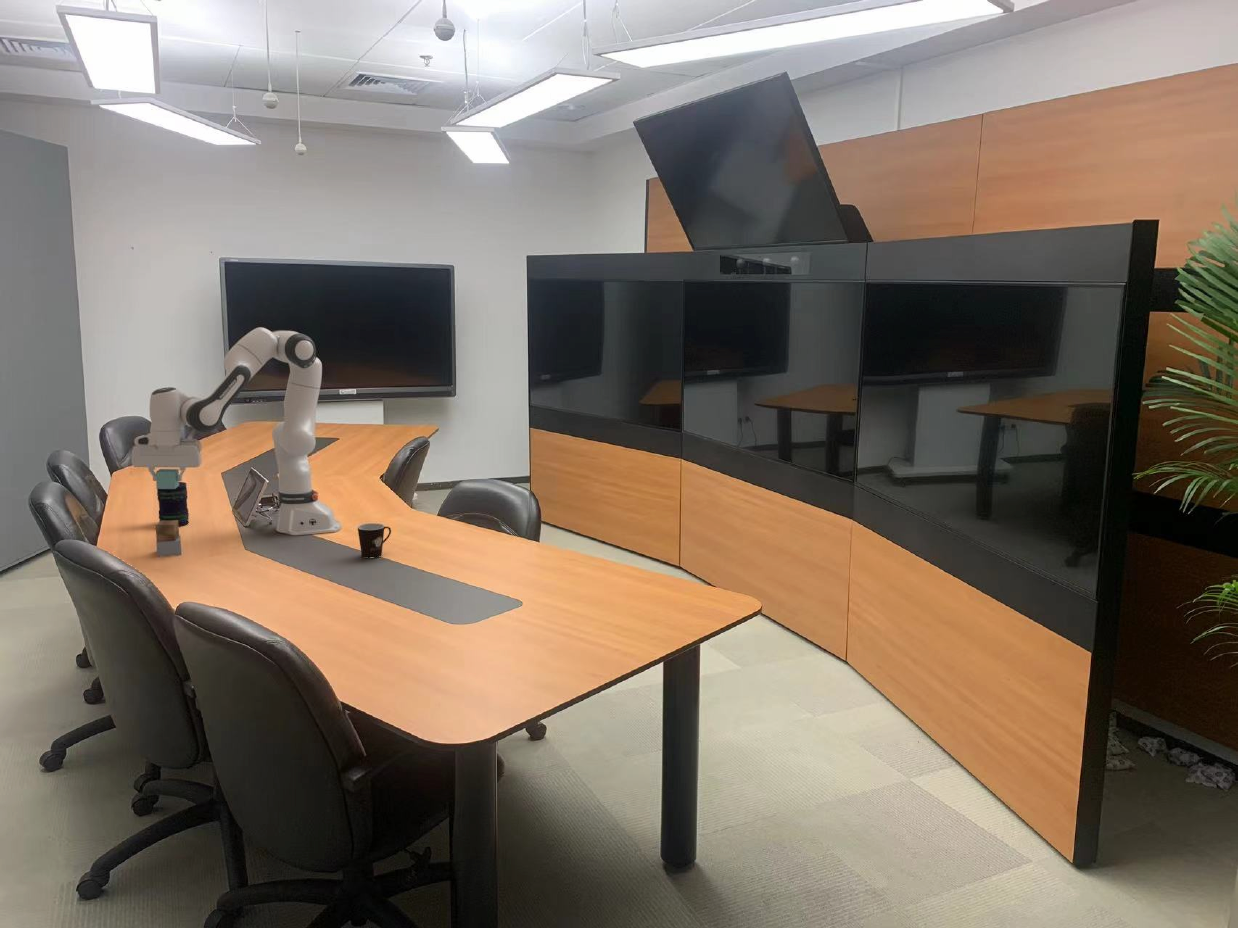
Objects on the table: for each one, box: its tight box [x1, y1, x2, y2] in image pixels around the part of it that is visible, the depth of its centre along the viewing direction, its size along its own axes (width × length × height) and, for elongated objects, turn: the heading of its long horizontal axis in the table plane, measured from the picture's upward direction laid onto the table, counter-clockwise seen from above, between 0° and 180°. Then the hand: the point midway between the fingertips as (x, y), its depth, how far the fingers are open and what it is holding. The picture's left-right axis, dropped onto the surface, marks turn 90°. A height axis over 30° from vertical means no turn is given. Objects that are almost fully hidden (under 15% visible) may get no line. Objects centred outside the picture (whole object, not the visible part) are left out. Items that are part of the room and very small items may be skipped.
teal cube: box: [155, 468, 180, 490], centre depth 291 cm, size 6×6×6 cm
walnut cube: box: [155, 520, 180, 542], centre depth 294 cm, size 6×6×6 cm
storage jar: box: [156, 481, 190, 528], centre depth 329 cm, size 10×10×15 cm
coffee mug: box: [357, 522, 392, 559], centre depth 299 cm, size 12×9×10 cm
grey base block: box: [155, 534, 182, 558], centre depth 296 cm, size 7×7×5 cm
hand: (167, 480), depth 292 cm, fingers closed on teal cube, 5 cm apart
